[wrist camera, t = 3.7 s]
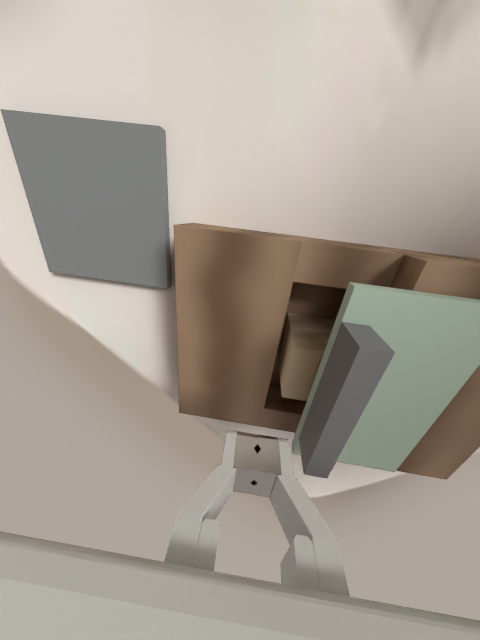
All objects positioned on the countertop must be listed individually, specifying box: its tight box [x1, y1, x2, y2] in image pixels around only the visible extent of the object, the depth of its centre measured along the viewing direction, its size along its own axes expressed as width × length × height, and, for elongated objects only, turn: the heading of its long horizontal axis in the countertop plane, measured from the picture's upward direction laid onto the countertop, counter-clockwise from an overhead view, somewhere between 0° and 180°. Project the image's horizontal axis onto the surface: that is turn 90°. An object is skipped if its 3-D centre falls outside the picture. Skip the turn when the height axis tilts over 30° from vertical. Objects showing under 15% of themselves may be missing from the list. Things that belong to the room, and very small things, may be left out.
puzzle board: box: [174, 223, 480, 479], centre depth 17 cm, size 24×17×6 cm
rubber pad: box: [1, 109, 171, 289], centre depth 17 cm, size 11×11×1 cm
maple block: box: [278, 313, 336, 401], centre depth 17 cm, size 4×4×6 cm
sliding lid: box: [292, 282, 480, 478], centre depth 13 cm, size 8×14×3 cm, turn 174°
